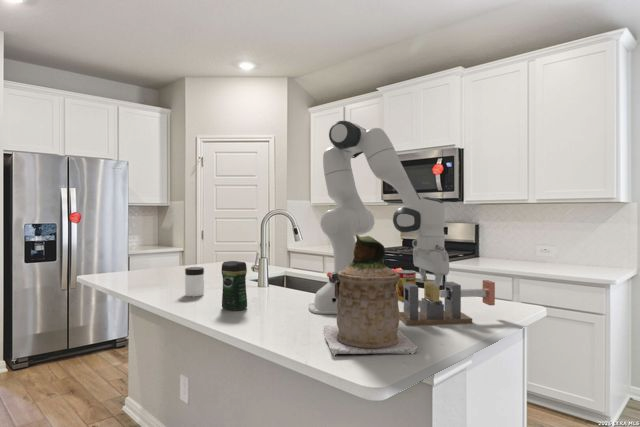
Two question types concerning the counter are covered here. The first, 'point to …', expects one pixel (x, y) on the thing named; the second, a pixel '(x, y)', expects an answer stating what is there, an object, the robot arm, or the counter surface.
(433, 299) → the frame
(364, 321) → the cookie jar
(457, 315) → the shaft rig
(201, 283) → the jar
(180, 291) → the counter surface
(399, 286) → the canned food
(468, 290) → the shaft
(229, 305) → the coffee jar
